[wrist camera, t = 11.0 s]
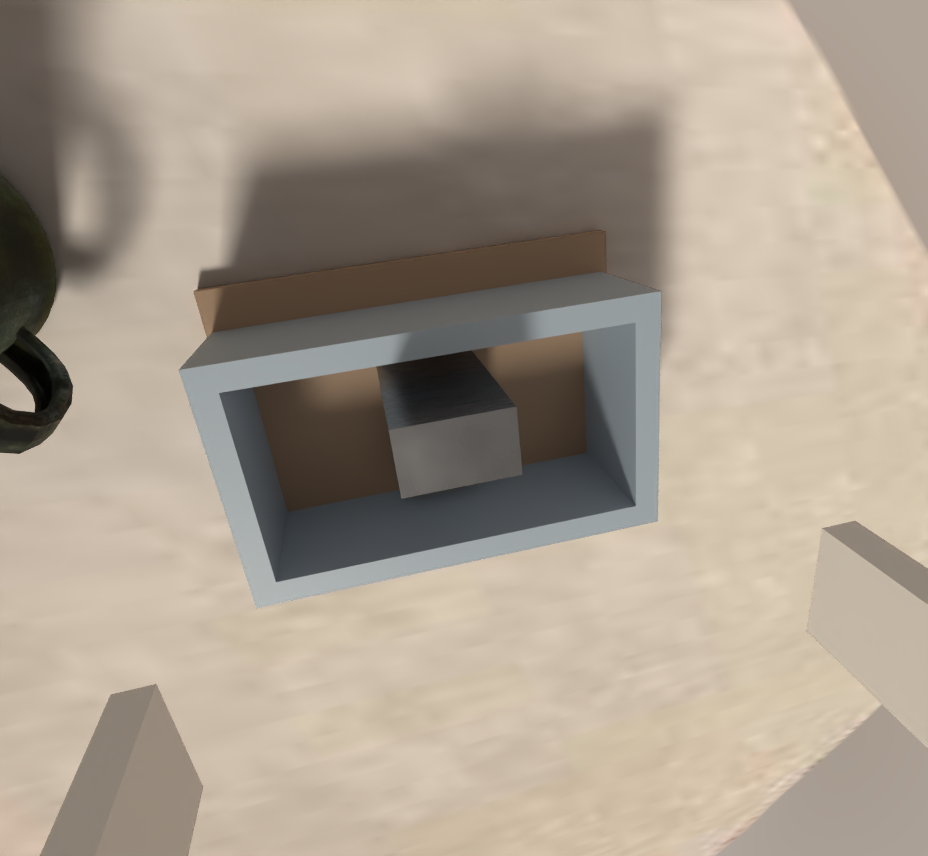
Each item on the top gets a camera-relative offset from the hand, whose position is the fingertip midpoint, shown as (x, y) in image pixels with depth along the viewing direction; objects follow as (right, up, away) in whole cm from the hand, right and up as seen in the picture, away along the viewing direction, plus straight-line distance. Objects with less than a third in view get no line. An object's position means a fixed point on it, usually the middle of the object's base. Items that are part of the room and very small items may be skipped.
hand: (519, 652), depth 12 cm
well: (-3, +6, +22) cm, 23 cm away
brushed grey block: (-3, +6, +21) cm, 22 cm away
